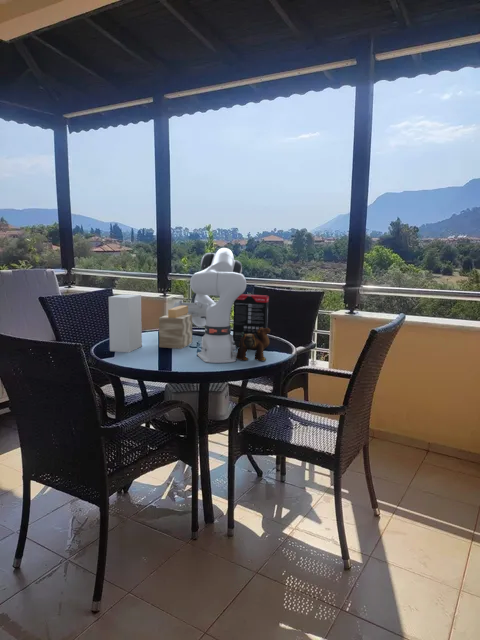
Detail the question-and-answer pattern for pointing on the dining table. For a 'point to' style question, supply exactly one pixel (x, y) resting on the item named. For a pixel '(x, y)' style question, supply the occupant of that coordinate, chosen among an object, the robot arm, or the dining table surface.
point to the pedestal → (175, 331)
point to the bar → (177, 311)
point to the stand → (125, 323)
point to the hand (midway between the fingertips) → (188, 302)
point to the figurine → (253, 344)
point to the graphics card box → (249, 315)
